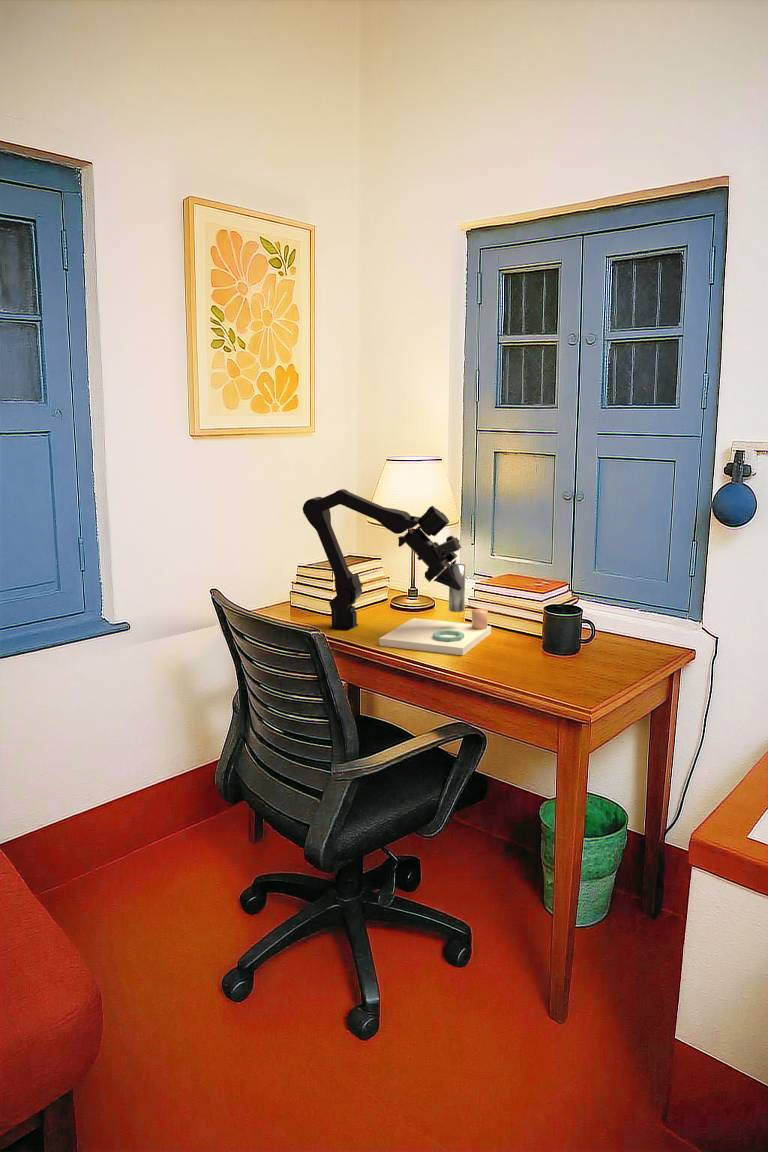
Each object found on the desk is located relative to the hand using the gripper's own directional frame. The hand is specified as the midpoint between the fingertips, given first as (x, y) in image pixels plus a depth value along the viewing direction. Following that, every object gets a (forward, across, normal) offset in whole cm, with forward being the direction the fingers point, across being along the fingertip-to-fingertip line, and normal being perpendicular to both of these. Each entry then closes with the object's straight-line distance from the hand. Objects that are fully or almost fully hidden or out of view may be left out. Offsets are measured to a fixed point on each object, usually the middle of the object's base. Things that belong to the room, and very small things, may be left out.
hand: (461, 587), depth 246 cm
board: (+6, -7, +14) cm, 16 cm away
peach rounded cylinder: (+12, 0, +4) cm, 13 cm away
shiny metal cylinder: (+4, 0, +6) cm, 7 cm away
